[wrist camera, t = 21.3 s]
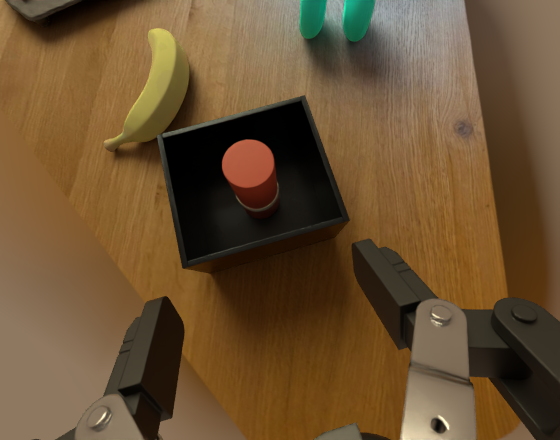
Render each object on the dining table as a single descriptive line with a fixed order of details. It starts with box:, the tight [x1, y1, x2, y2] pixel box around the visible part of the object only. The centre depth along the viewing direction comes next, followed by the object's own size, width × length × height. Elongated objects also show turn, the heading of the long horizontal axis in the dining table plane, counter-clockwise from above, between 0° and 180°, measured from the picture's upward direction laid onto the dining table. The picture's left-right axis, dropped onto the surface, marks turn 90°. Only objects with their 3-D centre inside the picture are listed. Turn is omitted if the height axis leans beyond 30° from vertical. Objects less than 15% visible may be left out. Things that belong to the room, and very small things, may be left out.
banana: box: [104, 28, 189, 152], centre depth 41 cm, size 14×6×20 cm
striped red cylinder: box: [222, 140, 279, 219], centre depth 32 cm, size 5×5×12 cm
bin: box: [157, 95, 350, 273], centre depth 34 cm, size 17×15×10 cm
